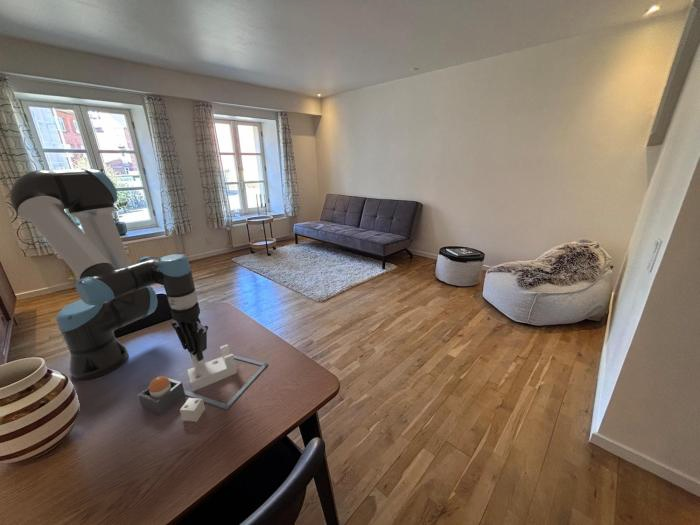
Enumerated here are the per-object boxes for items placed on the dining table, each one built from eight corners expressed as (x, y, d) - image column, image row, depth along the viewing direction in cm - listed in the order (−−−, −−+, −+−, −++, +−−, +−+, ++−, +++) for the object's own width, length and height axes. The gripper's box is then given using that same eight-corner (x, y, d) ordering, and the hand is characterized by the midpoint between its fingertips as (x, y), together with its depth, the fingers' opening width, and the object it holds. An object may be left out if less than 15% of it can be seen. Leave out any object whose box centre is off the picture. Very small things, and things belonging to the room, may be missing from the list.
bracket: (231, 362, 98) (227, 344, 95) (236, 373, 93) (233, 354, 90) (189, 378, 91) (184, 359, 88) (193, 392, 86) (187, 372, 83)
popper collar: (142, 408, 80) (137, 394, 78) (167, 389, 86) (163, 376, 85) (161, 416, 77) (157, 402, 76) (185, 395, 84) (181, 382, 82)
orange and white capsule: (149, 403, 80) (142, 382, 77) (165, 390, 84) (159, 370, 82) (161, 408, 78) (155, 387, 76) (177, 394, 83) (171, 374, 80)
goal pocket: (178, 393, 85) (178, 391, 85) (225, 353, 102) (225, 352, 102) (226, 409, 79) (226, 408, 79) (267, 364, 96) (267, 363, 96)
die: (182, 420, 76) (179, 409, 74) (191, 408, 80) (188, 397, 78) (196, 421, 76) (193, 410, 74) (205, 409, 79) (202, 398, 78)
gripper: (157, 307, 84) (175, 370, 92) (190, 314, 80) (205, 379, 88) (179, 296, 91) (194, 355, 99) (210, 302, 86) (223, 364, 95)
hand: (199, 367), depth 93 cm, fingers closed
